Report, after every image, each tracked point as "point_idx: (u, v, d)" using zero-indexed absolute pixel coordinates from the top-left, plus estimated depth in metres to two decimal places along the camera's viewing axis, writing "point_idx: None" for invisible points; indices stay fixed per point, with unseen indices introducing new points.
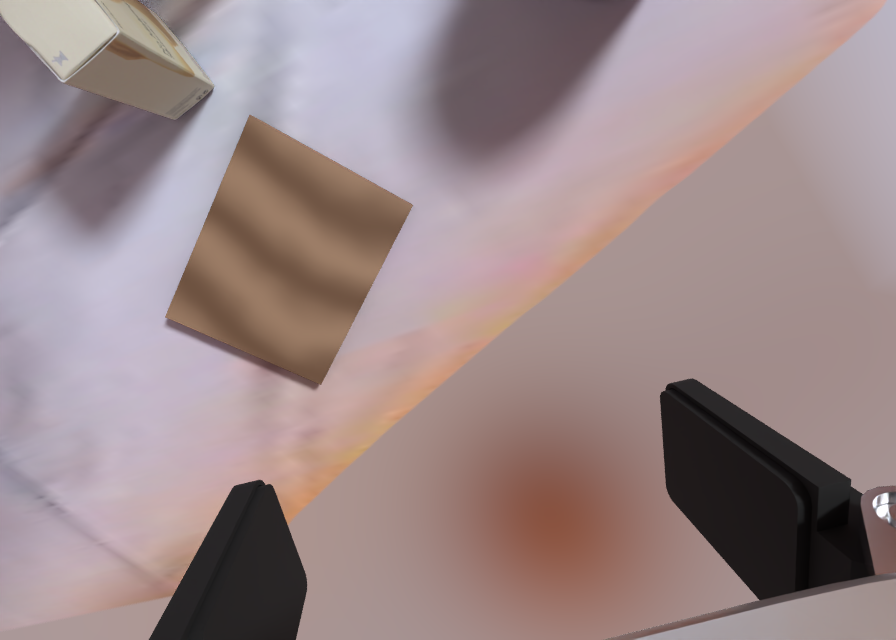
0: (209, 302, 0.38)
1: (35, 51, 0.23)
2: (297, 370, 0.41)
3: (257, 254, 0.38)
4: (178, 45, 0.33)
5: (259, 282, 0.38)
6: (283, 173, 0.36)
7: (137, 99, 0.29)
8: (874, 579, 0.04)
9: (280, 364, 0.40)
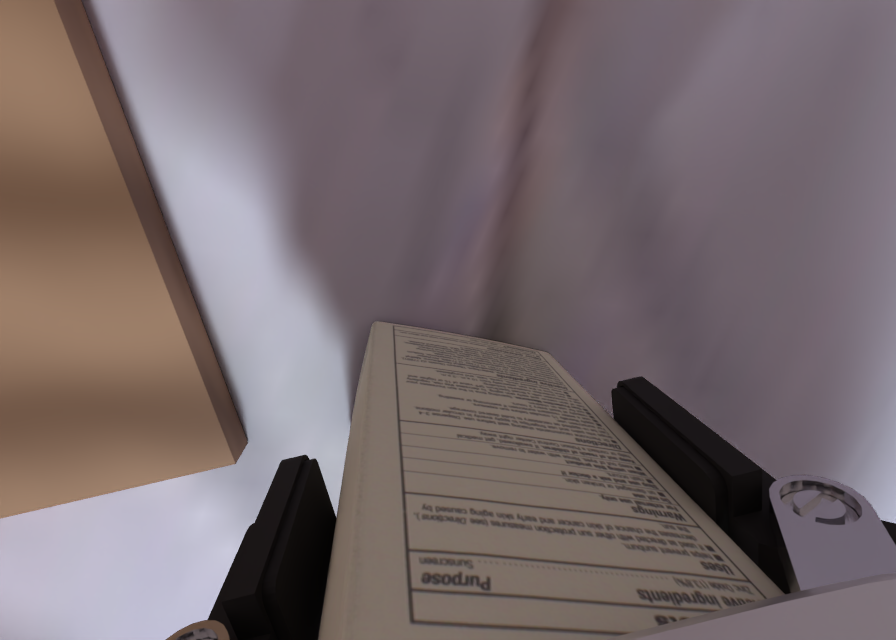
0: None
1: None
2: None
3: None
4: None
5: None
6: (67, 413, 0.13)
7: (354, 444, 0.09)
8: (874, 579, 0.04)
9: None
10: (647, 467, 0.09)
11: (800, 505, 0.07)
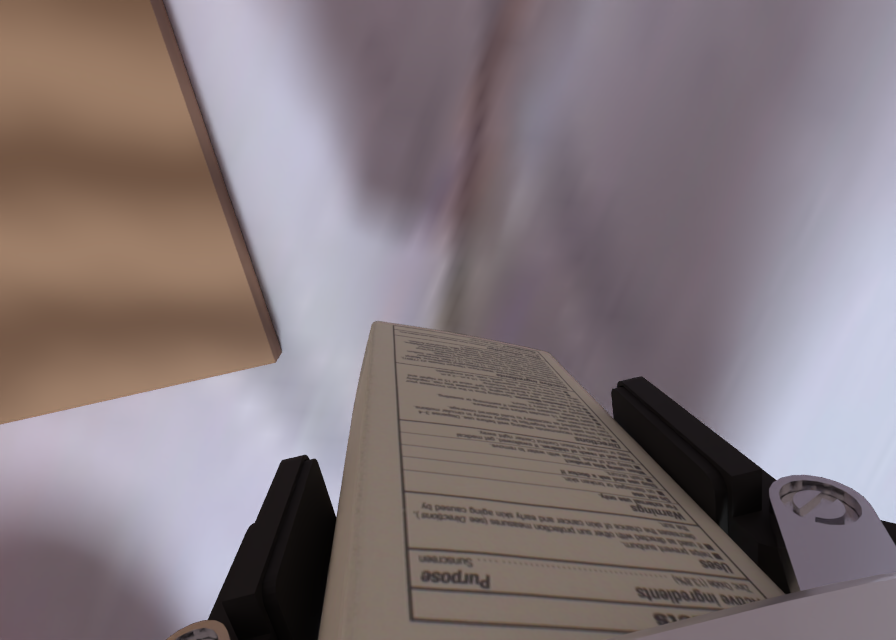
0: None
1: None
2: None
3: (65, 150, 0.16)
4: None
5: (7, 92, 0.16)
6: (160, 323, 0.19)
7: (354, 443, 0.09)
8: (874, 579, 0.04)
9: None
10: (646, 466, 0.09)
11: (800, 505, 0.07)
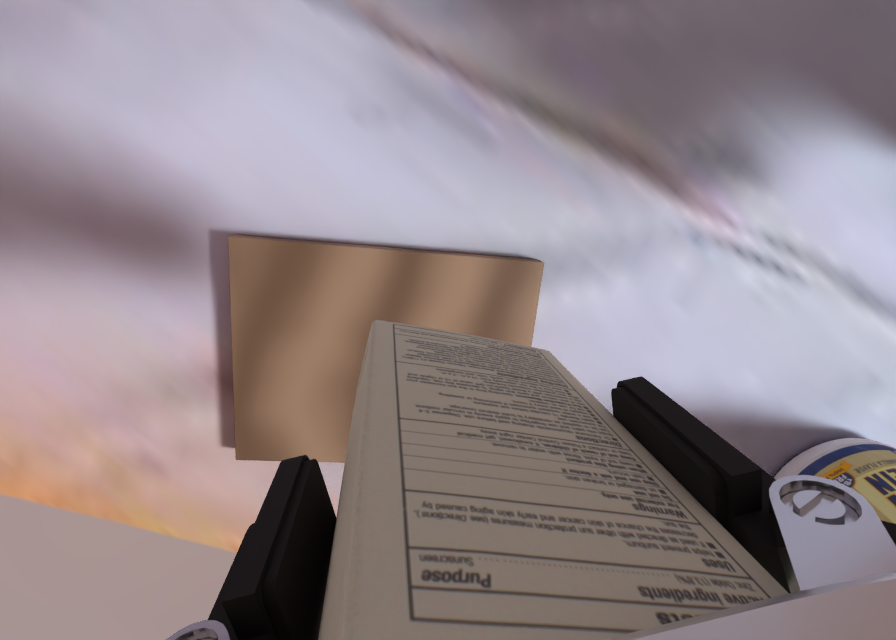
0: (282, 288, 0.26)
1: None
2: (240, 425, 0.28)
3: None
4: None
5: (341, 340, 0.27)
6: (491, 321, 0.28)
7: (354, 442, 0.08)
8: (873, 579, 0.04)
9: (237, 403, 0.28)
10: (648, 465, 0.09)
11: (800, 505, 0.07)
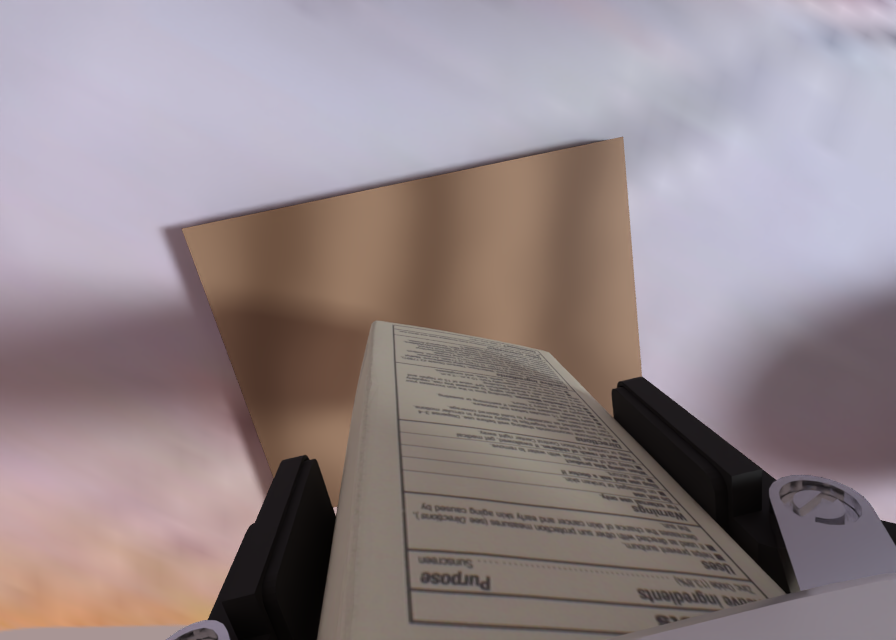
0: (275, 279, 0.19)
1: None
2: None
3: (416, 294, 0.20)
4: None
5: None
6: (569, 243, 0.20)
7: (353, 443, 0.08)
8: (874, 579, 0.04)
9: (267, 446, 0.21)
10: (648, 466, 0.09)
11: (800, 505, 0.07)
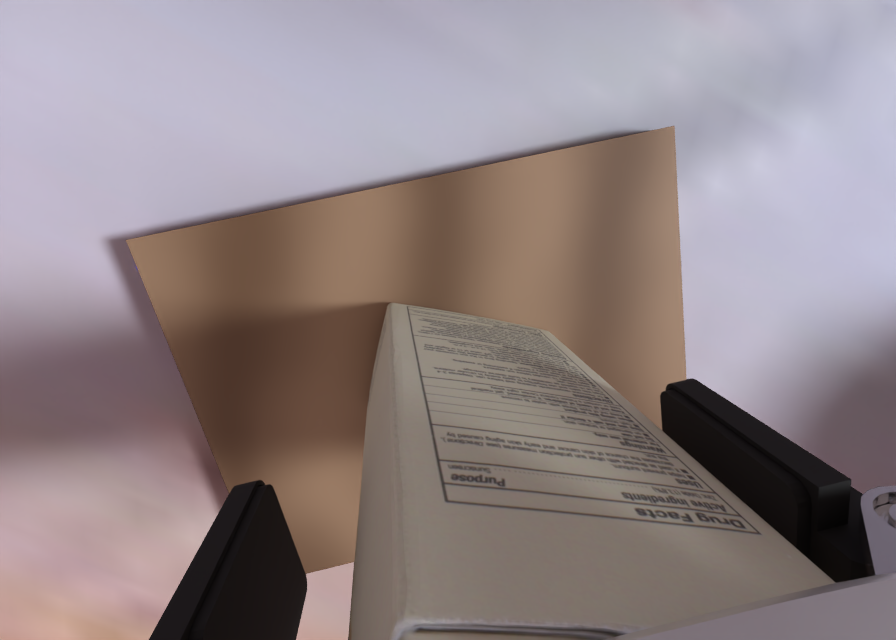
0: (245, 302, 0.15)
1: (576, 633, 0.04)
2: None
3: None
4: None
5: (367, 359, 0.16)
6: (605, 257, 0.16)
7: (382, 398, 0.10)
8: (874, 579, 0.04)
9: None
10: (635, 416, 0.10)
11: None
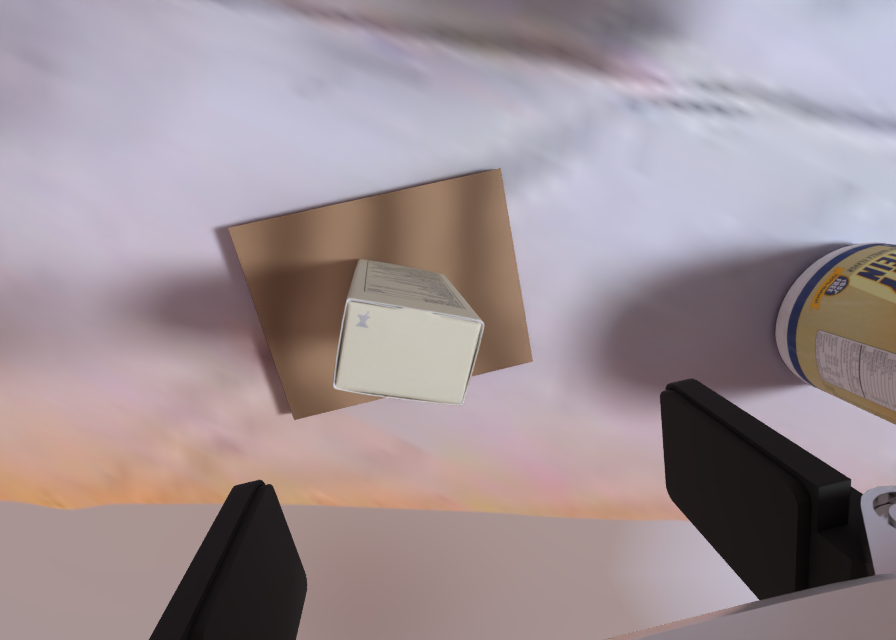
0: (285, 259, 0.30)
1: (389, 306, 0.19)
2: (289, 389, 0.32)
3: None
4: None
5: (348, 289, 0.31)
6: (471, 235, 0.31)
7: None
8: (874, 579, 0.04)
9: (280, 369, 0.32)
10: (454, 293, 0.25)
11: None
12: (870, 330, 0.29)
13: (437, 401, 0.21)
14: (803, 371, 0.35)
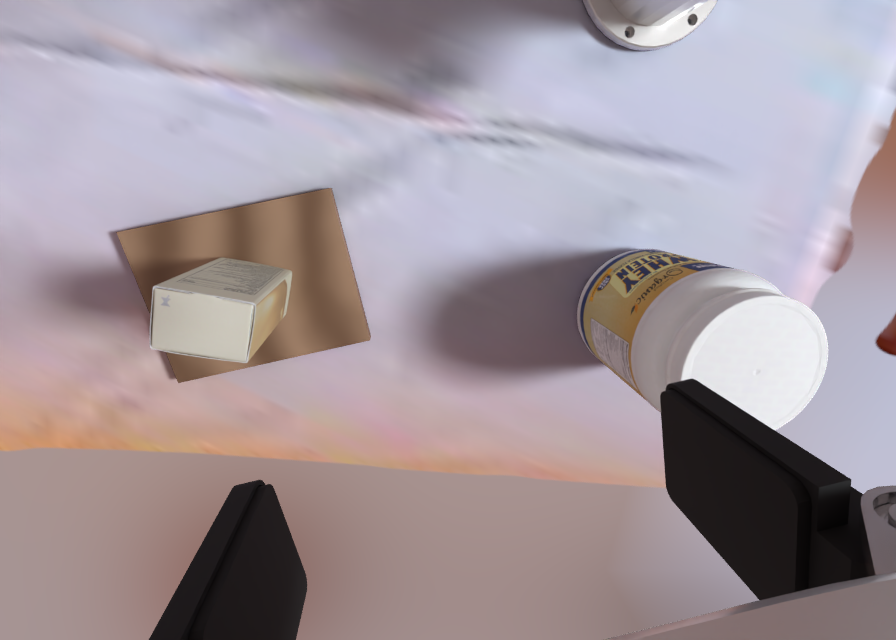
0: (163, 256, 0.39)
1: (184, 292, 0.28)
2: (172, 358, 0.41)
3: None
4: None
5: None
6: (310, 239, 0.40)
7: None
8: (874, 579, 0.04)
9: None
10: (267, 284, 0.34)
11: None
12: (609, 317, 0.38)
13: (228, 359, 0.30)
14: (593, 352, 0.44)
